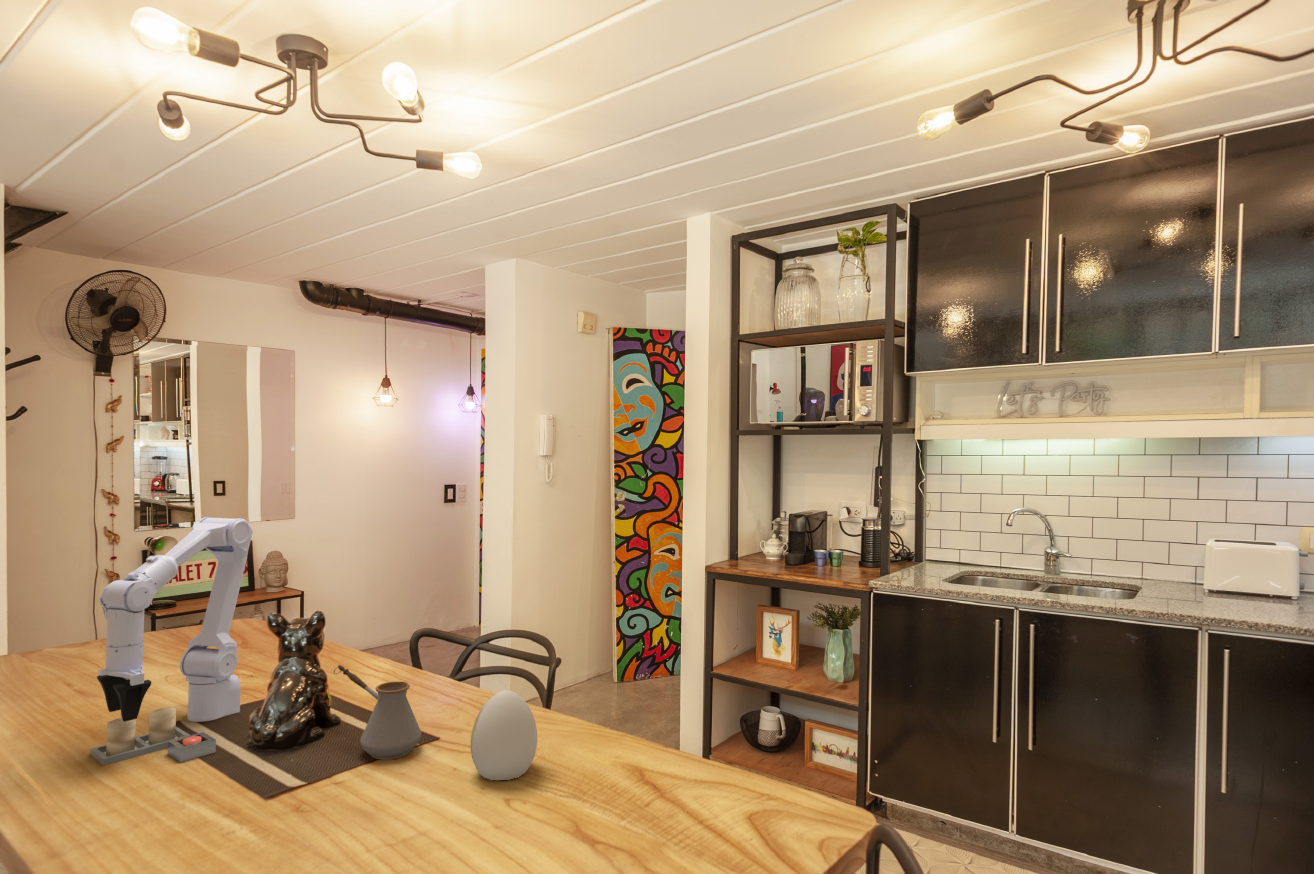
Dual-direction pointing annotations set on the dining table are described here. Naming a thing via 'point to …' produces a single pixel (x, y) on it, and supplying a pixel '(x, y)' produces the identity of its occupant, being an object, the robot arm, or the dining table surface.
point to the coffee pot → (388, 720)
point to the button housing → (191, 748)
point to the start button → (191, 740)
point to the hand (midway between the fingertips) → (122, 714)
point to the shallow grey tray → (140, 749)
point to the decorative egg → (504, 737)
